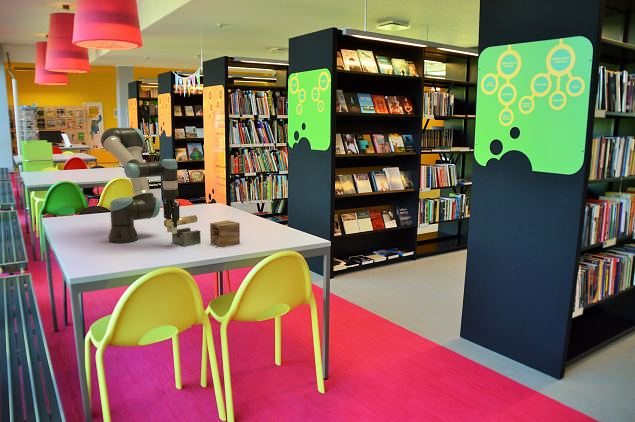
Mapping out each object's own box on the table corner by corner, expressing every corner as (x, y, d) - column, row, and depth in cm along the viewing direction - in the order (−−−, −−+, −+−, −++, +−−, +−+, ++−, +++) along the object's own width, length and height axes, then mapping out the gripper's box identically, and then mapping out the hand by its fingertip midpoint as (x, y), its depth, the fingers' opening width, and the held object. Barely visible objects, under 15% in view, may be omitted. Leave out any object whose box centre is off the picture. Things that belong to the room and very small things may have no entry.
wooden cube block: (210, 244, 269) (210, 223, 267) (228, 240, 277) (228, 220, 275) (221, 247, 262) (221, 225, 260) (239, 243, 271) (239, 222, 269)
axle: (168, 227, 258) (167, 220, 258) (164, 226, 261) (163, 219, 260) (197, 222, 271) (197, 215, 271) (193, 221, 274) (193, 214, 273)
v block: (172, 242, 271) (171, 230, 270) (188, 239, 278) (187, 227, 277) (184, 246, 263) (184, 233, 262) (200, 243, 270) (200, 230, 269)
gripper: (185, 189, 256) (187, 234, 260) (168, 186, 268) (170, 229, 271) (172, 190, 251) (174, 236, 254) (155, 188, 262) (157, 231, 266)
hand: (172, 232), depth 263 cm, fingers closed on axle, 4 cm apart
